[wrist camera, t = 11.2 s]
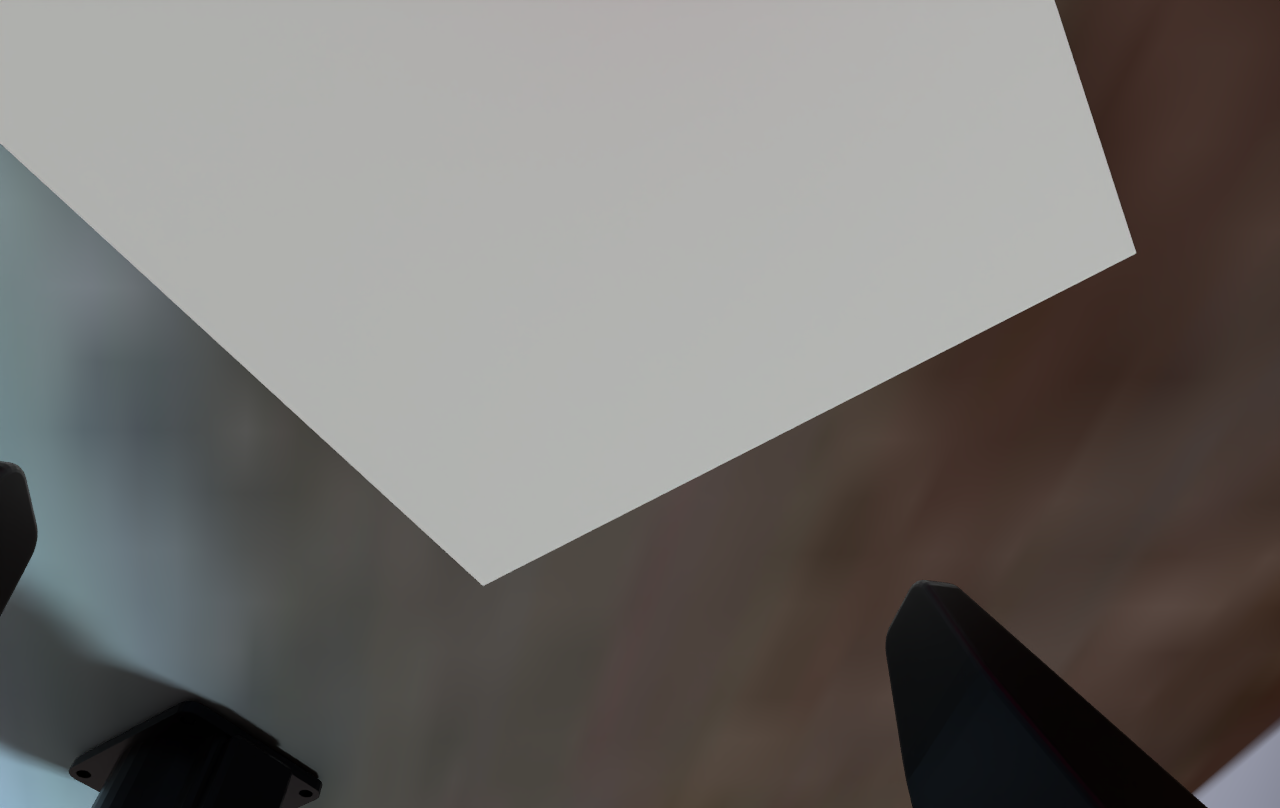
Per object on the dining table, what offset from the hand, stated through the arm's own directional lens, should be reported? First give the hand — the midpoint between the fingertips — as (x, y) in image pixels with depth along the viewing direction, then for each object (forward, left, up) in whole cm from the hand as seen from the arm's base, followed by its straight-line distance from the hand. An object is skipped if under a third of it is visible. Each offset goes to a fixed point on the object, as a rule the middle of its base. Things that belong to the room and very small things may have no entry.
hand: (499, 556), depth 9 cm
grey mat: (0, 0, -12) cm, 12 cm away
